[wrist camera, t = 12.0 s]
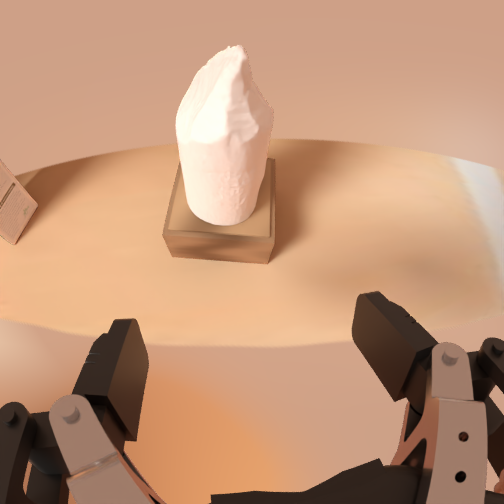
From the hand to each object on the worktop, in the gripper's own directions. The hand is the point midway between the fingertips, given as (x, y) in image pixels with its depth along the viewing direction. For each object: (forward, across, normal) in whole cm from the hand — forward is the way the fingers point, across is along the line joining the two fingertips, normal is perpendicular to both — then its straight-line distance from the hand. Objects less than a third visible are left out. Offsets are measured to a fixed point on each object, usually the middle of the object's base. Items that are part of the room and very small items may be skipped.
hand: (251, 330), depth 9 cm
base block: (+16, 0, 0) cm, 16 cm away
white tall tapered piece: (+13, 0, -2) cm, 14 cm away
